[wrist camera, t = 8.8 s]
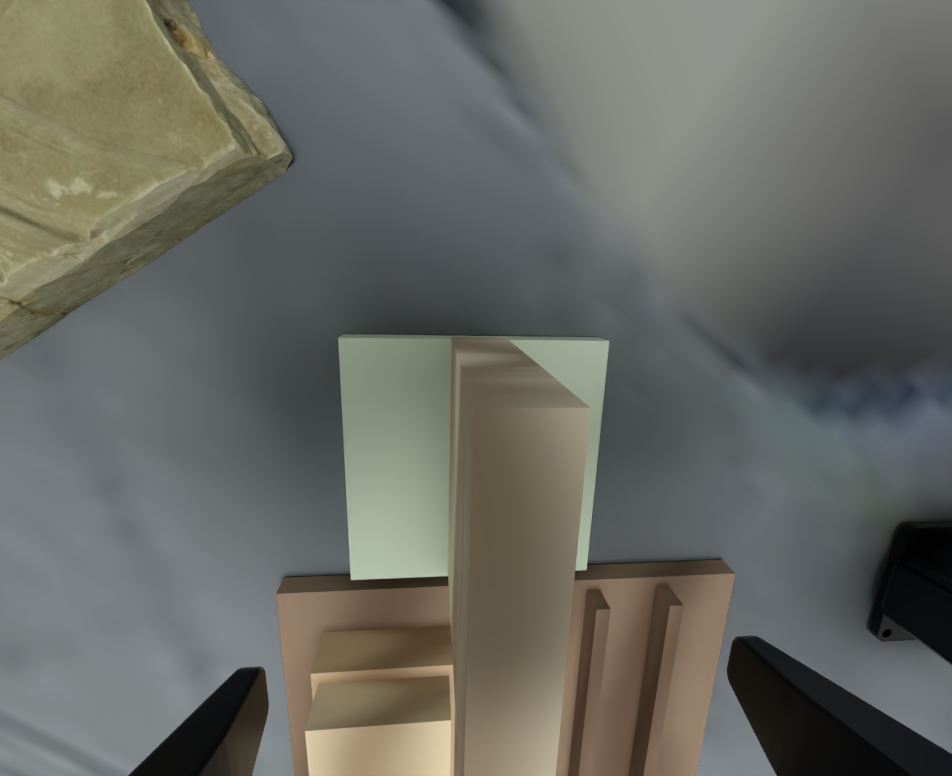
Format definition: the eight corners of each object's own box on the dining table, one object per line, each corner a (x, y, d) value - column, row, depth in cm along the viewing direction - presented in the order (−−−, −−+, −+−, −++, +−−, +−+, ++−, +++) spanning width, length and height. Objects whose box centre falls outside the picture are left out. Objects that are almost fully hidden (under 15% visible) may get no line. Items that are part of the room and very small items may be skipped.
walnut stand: (721, 559, 21) (754, 591, 19) (682, 766, 24) (707, 814, 22) (284, 577, 19) (265, 615, 17) (305, 800, 22) (291, 856, 20)
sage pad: (599, 337, 18) (609, 340, 17) (579, 556, 20) (586, 570, 19) (343, 334, 17) (338, 337, 16) (355, 564, 19) (350, 580, 18)
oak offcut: (453, 625, 19) (455, 664, 17) (451, 780, 21) (452, 830, 19) (323, 632, 18) (310, 673, 17) (334, 790, 21) (324, 843, 19)
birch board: (505, 337, 16) (590, 407, 7) (495, 572, 19) (550, 831, 10) (451, 336, 16) (474, 407, 7) (448, 573, 18) (462, 839, 10)
